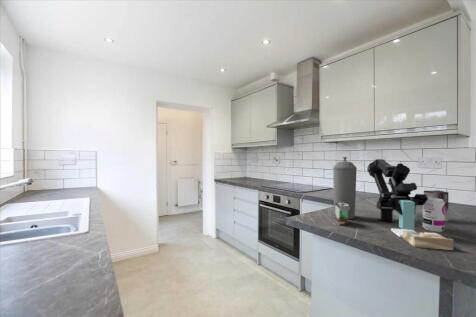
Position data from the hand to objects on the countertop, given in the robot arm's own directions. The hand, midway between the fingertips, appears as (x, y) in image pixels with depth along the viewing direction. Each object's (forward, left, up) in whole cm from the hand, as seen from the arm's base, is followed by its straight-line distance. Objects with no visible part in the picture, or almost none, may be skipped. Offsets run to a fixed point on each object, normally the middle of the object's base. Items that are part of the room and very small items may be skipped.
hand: (408, 214), depth 104 cm
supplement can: (-19, +7, -10) cm, 22 cm away
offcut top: (+5, +10, -8) cm, 13 cm away
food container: (+1, -28, -10) cm, 30 cm away
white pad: (-1, -1, -9) cm, 9 cm away
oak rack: (+6, +7, -9) cm, 13 cm away
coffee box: (-41, +6, -10) cm, 42 cm away
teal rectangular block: (-1, -1, -7) cm, 7 cm away
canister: (-11, -32, -10) cm, 35 cm away
